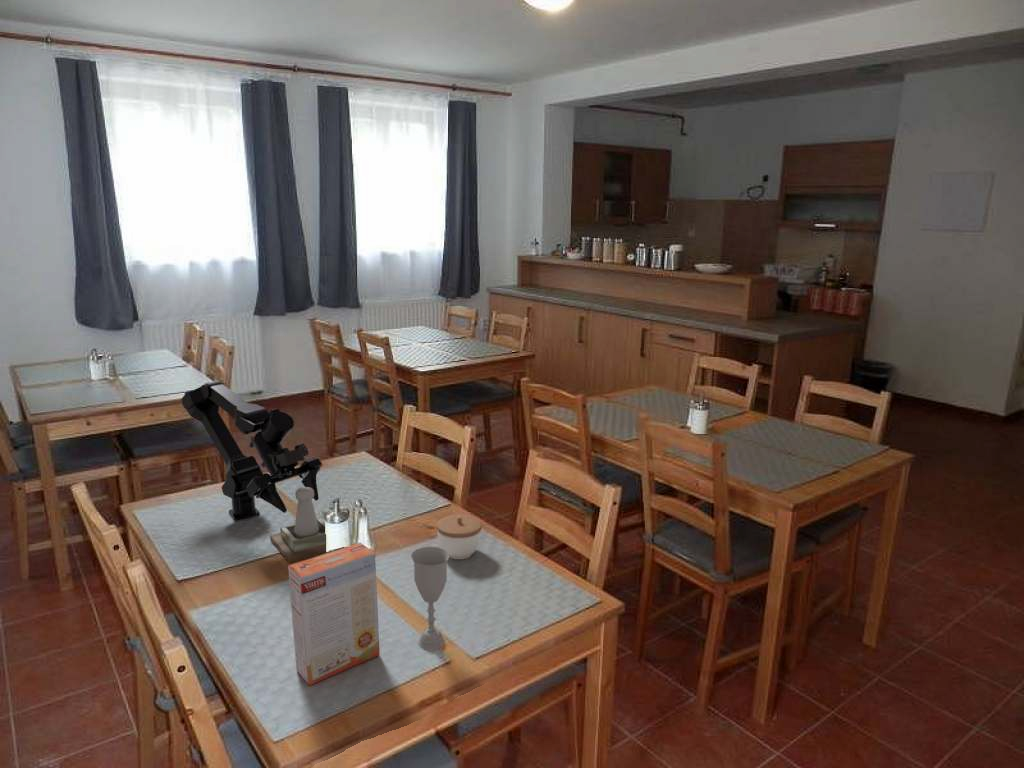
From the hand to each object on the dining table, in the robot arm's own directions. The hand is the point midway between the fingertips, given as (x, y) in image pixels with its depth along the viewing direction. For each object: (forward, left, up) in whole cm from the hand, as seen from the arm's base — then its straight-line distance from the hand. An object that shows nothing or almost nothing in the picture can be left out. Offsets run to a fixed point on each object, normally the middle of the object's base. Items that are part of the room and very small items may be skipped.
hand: (301, 505), depth 169 cm
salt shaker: (+1, 0, -8) cm, 9 cm away
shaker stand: (+2, 0, -9) cm, 10 cm away
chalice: (+53, +5, -10) cm, 55 cm away
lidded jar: (+26, +28, -10) cm, 40 cm away
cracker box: (+49, -12, -10) cm, 52 cm away
